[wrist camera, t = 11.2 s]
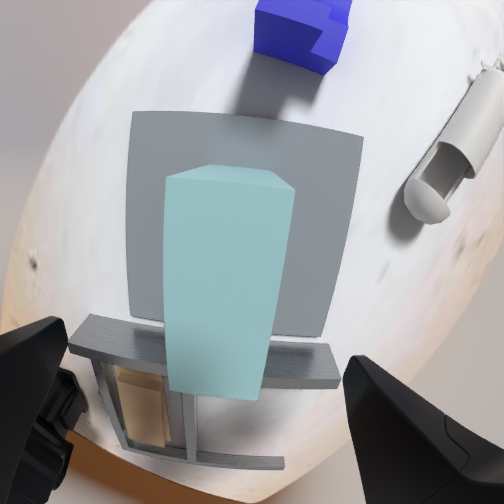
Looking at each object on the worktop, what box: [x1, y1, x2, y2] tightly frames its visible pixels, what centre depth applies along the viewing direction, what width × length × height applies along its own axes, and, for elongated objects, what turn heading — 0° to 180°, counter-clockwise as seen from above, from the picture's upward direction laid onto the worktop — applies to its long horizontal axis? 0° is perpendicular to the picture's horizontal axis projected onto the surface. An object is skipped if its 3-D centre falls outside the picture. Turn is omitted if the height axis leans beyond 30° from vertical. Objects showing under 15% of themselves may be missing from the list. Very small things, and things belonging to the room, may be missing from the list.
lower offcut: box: [113, 365, 172, 442], centre depth 23 cm, size 4×12×1 cm, turn 173°
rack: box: [68, 314, 341, 470], centre depth 21 cm, size 19×19×4 cm
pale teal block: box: [163, 164, 295, 401], centre depth 13 cm, size 4×8×9 cm, turn 173°
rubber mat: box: [126, 111, 364, 337], centre depth 17 cm, size 14×14×1 cm
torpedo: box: [404, 54, 504, 225], centre depth 12 cm, size 18×5×7 cm, turn 143°
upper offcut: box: [116, 372, 167, 448], centre depth 23 cm, size 4×10×1 cm, turn 170°
